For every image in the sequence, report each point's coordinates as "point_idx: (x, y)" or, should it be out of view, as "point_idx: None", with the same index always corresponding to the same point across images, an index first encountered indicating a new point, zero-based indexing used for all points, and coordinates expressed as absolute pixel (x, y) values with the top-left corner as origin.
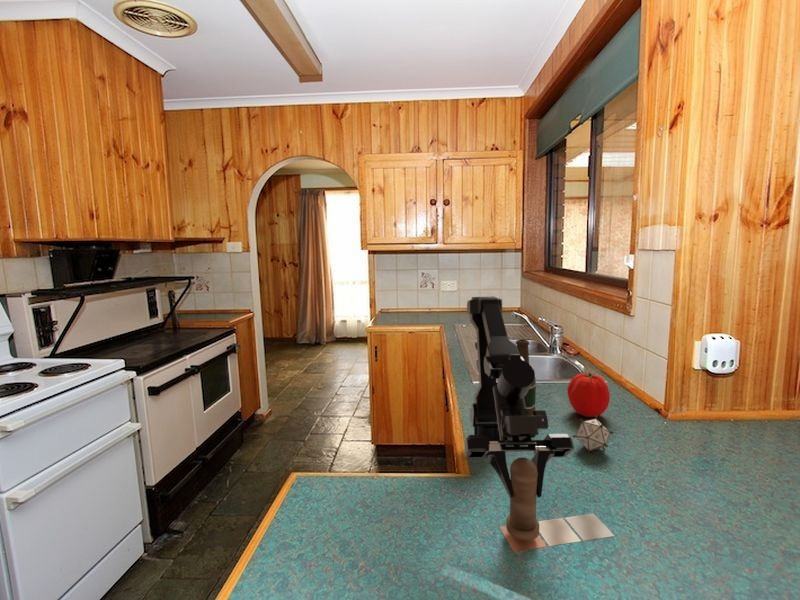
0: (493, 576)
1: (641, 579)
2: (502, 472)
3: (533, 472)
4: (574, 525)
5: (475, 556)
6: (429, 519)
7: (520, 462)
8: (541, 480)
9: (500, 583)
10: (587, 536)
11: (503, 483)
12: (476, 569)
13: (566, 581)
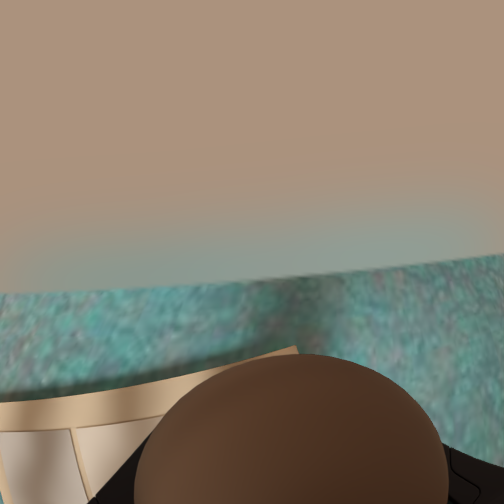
0: (342, 316)
1: (11, 324)
2: (465, 458)
3: (198, 389)
4: (75, 489)
5: (387, 371)
6: (491, 461)
7: (394, 463)
8: (127, 475)
9: (325, 298)
10: (54, 443)
11: None
12: (381, 330)
13: (161, 318)
